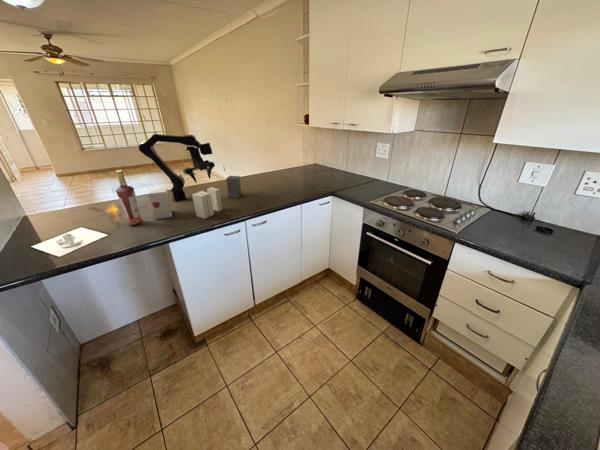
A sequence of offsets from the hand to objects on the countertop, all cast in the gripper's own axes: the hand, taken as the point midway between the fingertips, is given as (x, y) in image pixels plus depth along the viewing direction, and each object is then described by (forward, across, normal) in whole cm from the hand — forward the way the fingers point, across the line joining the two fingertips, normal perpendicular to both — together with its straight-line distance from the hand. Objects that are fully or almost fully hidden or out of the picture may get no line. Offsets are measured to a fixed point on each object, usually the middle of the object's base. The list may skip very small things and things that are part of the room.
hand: (203, 180), depth 160 cm
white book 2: (+12, -12, -26) cm, 31 cm away
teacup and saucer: (+5, -71, -13) cm, 73 cm away
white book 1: (+11, -16, -27) cm, 34 cm away
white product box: (+9, -31, -12) cm, 35 cm away
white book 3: (+12, -6, -23) cm, 27 cm away
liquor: (+8, -45, -13) cm, 48 cm away
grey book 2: (+14, +16, -8) cm, 23 cm away
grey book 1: (+14, +13, -11) cm, 22 cm away
